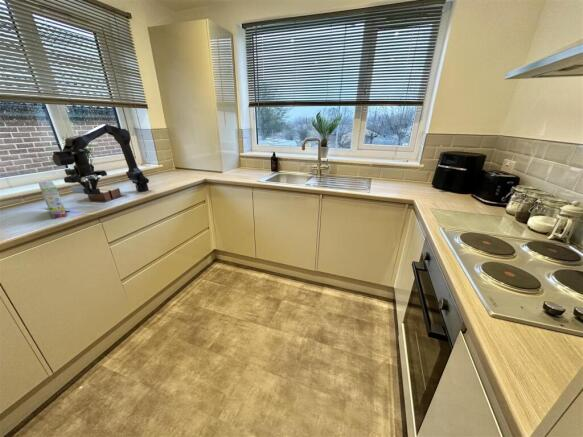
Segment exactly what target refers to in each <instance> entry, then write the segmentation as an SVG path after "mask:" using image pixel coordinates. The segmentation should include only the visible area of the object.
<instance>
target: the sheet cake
mask: <svg viewBox="0 0 583 437" xmlns="http://www.w3.org/2000/svg"><path fill="white" fill-rule="evenodd" d="M98 188H99V190H108V191H109V194H110V197H111V198H114V197H117V196H120V195H122V194H121V189H120V187H118V186H117V187H116V186H100V187H98Z"/></svg>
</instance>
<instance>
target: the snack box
mask: <svg viewBox="0 0 583 437" xmlns="http://www.w3.org/2000/svg"><path fill="white" fill-rule="evenodd" d="M38 185H39V188H40V189H39V190H40V191H41V194H42V197H43V199H44V201H45V204H46V207H47V209H48V210H49V213H50V215H51V217H52V218H53V219H56V218H57V219H59V218H62V217H67V212H66V210H65V207H64V204H63V201H62V198H61V195H60V193H59V191H58V187H57V186H56V184H55V183H54V182H53V181H52V180H48V181H40V182H39V181H38Z"/></svg>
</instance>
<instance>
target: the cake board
mask: <svg viewBox="0 0 583 437" xmlns="http://www.w3.org/2000/svg"><path fill="white" fill-rule="evenodd" d="M127 196H128V194H121V195H120V196H117V197H114V198H111V199H108V200H92V199H89V198H88V197H85V198H83V199H80V200H79V199H78V202H81V203H82V202H83V203H94V204H95V203H97V204H106V203H110V202H111V201H114V200H118V199H120V198H124V197H127Z"/></svg>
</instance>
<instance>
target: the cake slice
mask: <svg viewBox="0 0 583 437" xmlns="http://www.w3.org/2000/svg"><path fill="white" fill-rule="evenodd" d="M100 193H101V194H98V195H92V194H86V195H87V198H89V199H92V200H108V199H111V197H110V194H109V191H108V190H100Z"/></svg>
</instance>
